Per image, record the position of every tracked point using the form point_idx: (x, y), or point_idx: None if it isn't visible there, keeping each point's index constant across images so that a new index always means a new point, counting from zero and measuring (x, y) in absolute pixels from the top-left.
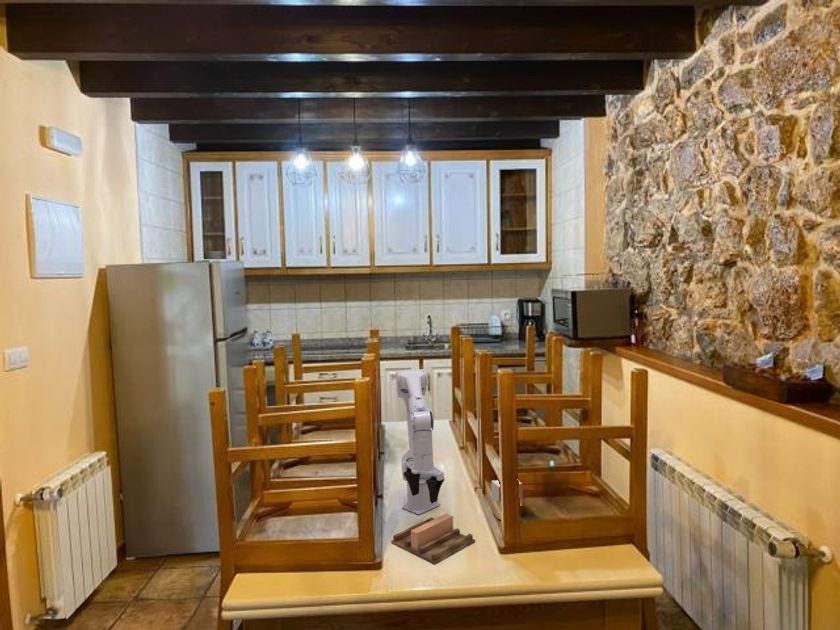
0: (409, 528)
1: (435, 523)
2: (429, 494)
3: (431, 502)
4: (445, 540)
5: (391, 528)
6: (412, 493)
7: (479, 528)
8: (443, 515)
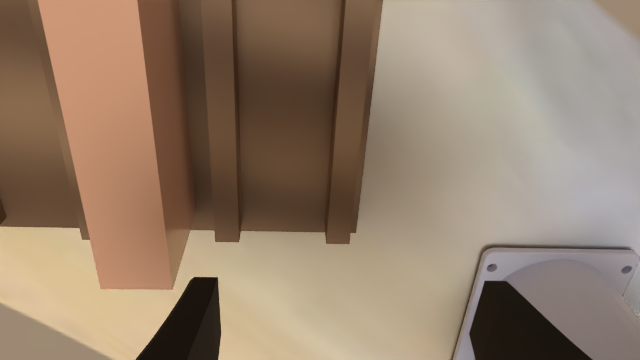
0: (363, 29)
1: (76, 115)
2: (189, 343)
3: (200, 280)
4: None
5: (546, 10)
6: (504, 294)
7: (104, 326)
8: (156, 253)
